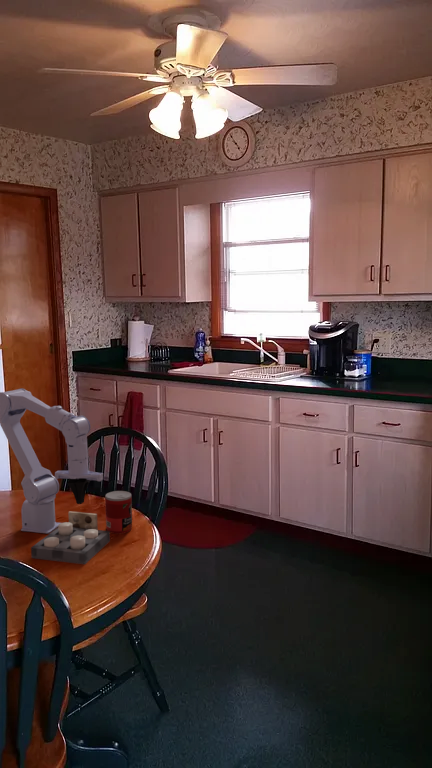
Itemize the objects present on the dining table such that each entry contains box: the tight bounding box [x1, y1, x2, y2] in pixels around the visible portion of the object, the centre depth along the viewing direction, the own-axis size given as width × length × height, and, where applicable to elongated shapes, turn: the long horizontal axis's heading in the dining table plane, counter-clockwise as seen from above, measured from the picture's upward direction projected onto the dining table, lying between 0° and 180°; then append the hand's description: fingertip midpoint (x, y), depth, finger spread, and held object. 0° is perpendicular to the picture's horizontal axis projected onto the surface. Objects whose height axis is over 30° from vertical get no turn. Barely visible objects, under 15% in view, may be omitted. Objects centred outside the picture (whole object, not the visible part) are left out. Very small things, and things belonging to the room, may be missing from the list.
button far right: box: [84, 529, 99, 539], centre depth 176 cm, size 4×4×3 cm
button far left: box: [57, 521, 73, 536], centre depth 178 cm, size 4×4×3 cm
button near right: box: [70, 535, 85, 550], centre depth 168 cm, size 4×4×3 cm
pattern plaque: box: [68, 510, 99, 530], centre depth 184 cm, size 9×1×6 cm, turn 75°
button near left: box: [44, 537, 59, 547], centre depth 170 cm, size 4×4×3 cm
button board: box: [30, 527, 111, 565], centre depth 173 cm, size 16×16×3 cm
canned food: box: [104, 490, 133, 535], centre depth 187 cm, size 8×8×11 cm
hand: (80, 503), depth 181 cm, fingers closed
